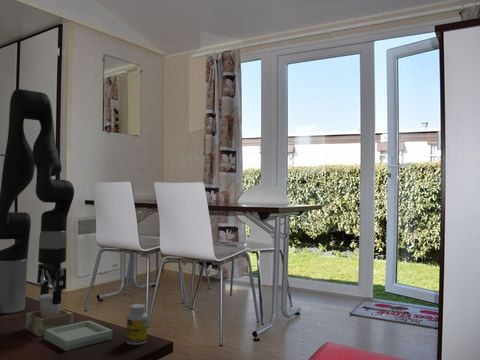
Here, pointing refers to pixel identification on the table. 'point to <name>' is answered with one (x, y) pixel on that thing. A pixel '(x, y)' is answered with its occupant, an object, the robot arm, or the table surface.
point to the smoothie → (48, 306)
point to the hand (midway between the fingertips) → (50, 301)
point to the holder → (47, 321)
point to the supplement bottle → (137, 325)
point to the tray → (77, 335)
